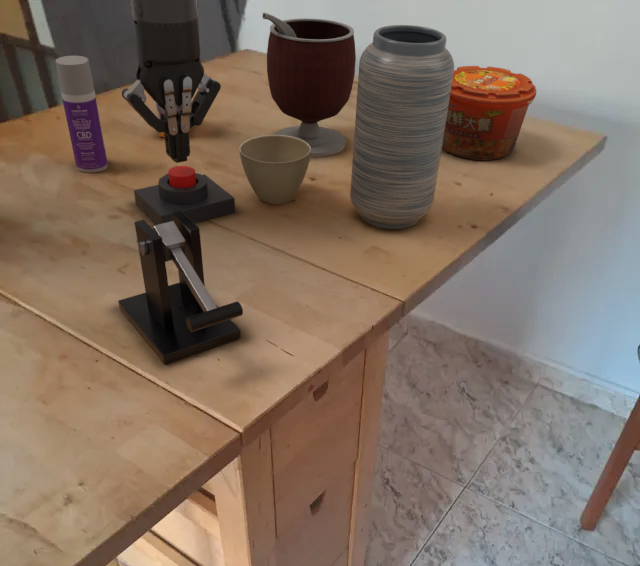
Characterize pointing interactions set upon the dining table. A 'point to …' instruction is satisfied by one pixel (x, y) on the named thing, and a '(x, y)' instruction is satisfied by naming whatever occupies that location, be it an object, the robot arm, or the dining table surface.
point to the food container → (486, 112)
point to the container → (82, 113)
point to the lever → (194, 281)
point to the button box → (184, 200)
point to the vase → (400, 124)
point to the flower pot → (275, 166)
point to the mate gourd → (311, 76)
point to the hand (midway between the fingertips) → (178, 160)
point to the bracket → (171, 298)
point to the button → (182, 177)
